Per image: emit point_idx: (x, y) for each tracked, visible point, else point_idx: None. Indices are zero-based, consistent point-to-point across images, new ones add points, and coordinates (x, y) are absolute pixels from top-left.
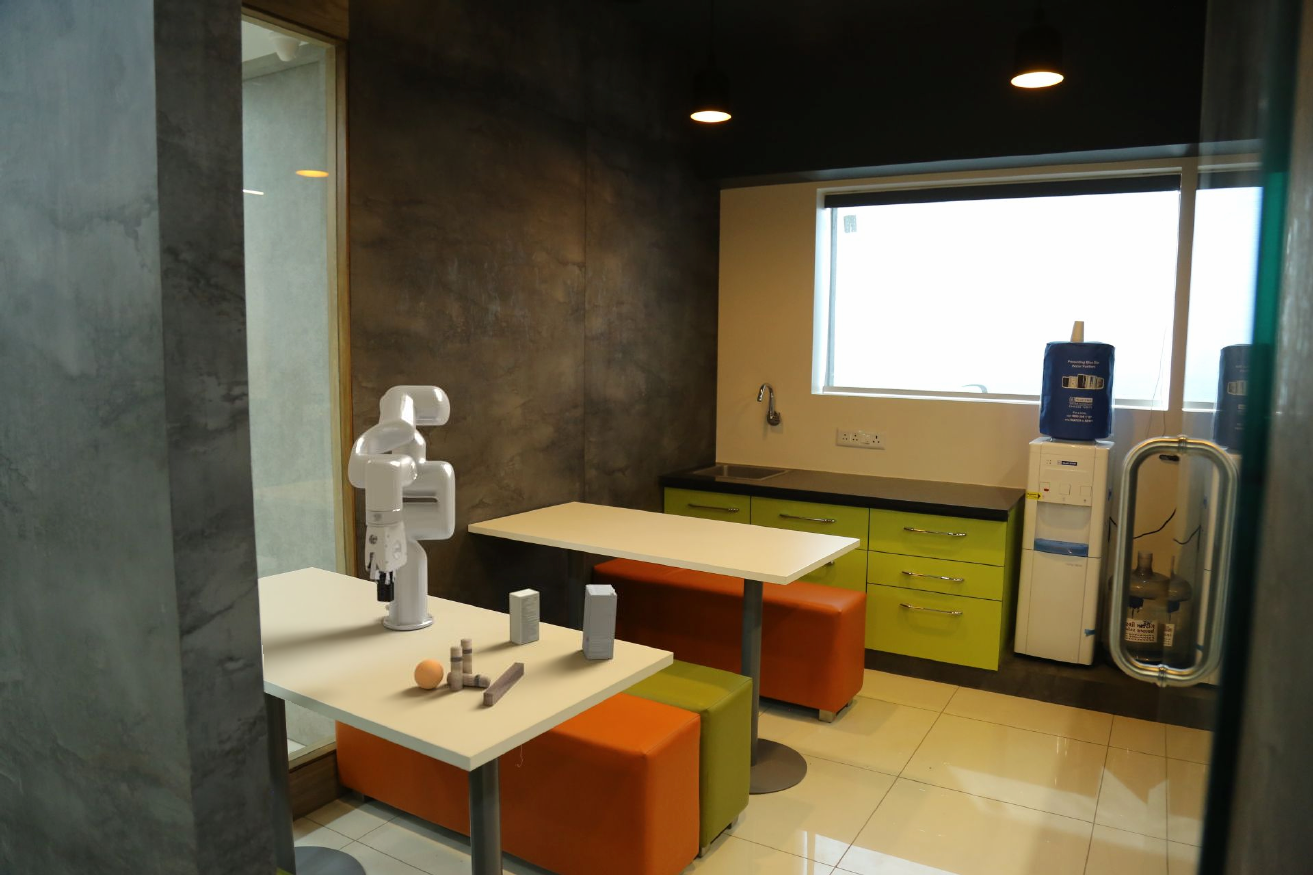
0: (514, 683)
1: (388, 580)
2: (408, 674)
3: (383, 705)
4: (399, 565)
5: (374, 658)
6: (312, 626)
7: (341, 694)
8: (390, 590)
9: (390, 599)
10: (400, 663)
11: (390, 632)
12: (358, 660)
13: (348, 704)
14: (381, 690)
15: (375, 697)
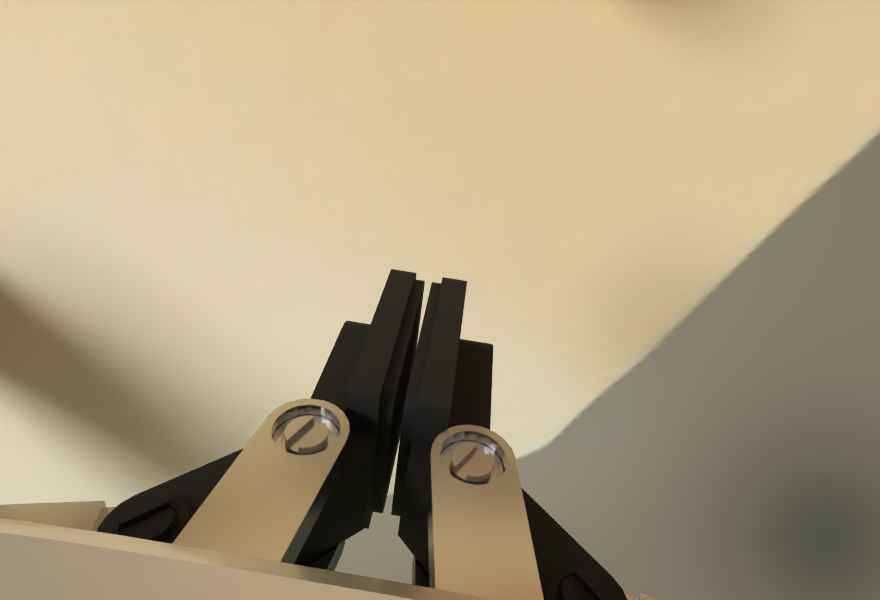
0: None
1: (446, 471)
2: (418, 39)
3: (820, 15)
4: (210, 596)
5: (272, 251)
6: (87, 497)
7: (655, 242)
8: (457, 352)
9: (464, 292)
10: (295, 129)
11: (3, 285)
12: (307, 298)
13: (772, 180)
14: (622, 97)
15: (707, 93)
